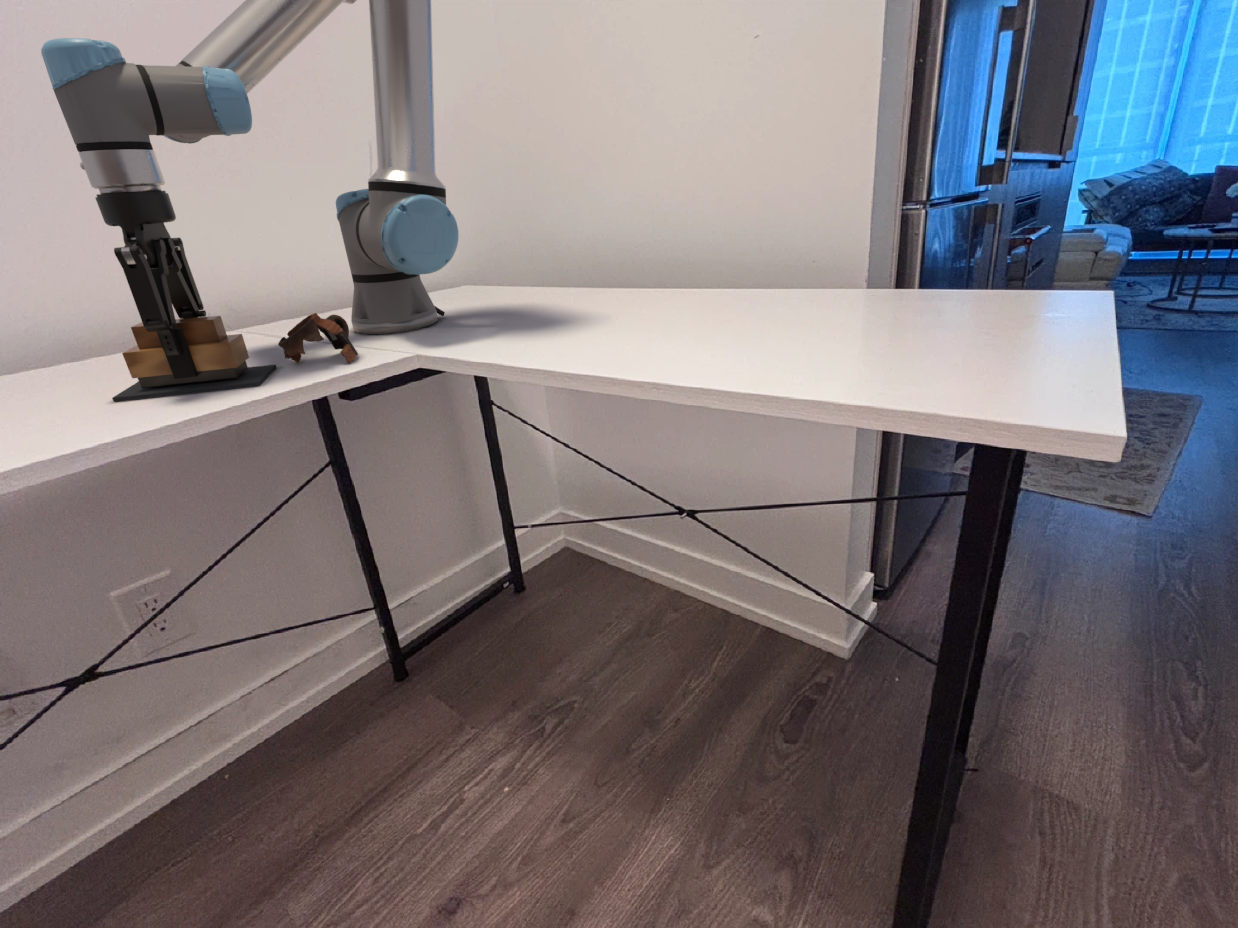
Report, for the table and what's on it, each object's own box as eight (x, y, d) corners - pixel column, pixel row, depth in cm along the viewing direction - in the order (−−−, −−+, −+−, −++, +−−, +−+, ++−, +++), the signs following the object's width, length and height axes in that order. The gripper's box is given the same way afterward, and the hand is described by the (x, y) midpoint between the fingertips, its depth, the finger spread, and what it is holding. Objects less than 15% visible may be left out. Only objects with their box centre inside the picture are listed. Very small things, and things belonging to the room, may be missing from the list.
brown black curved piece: (348, 371, 91) (304, 327, 87) (305, 398, 94) (261, 356, 90) (377, 331, 100) (338, 290, 96) (337, 357, 104) (297, 317, 99)
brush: (136, 389, 84) (112, 330, 80) (154, 377, 89) (133, 321, 85) (240, 378, 86) (221, 320, 83) (252, 367, 91) (235, 312, 88)
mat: (277, 368, 93) (276, 364, 93) (259, 386, 85) (258, 381, 85) (145, 382, 90) (143, 378, 90) (113, 402, 82) (111, 397, 82)
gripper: (132, 190, 85) (192, 356, 95) (51, 193, 68) (134, 394, 78) (193, 187, 86) (245, 351, 96) (127, 189, 69) (199, 387, 79)
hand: (195, 370), depth 87 cm, fingers closed on brush, 6 cm apart
